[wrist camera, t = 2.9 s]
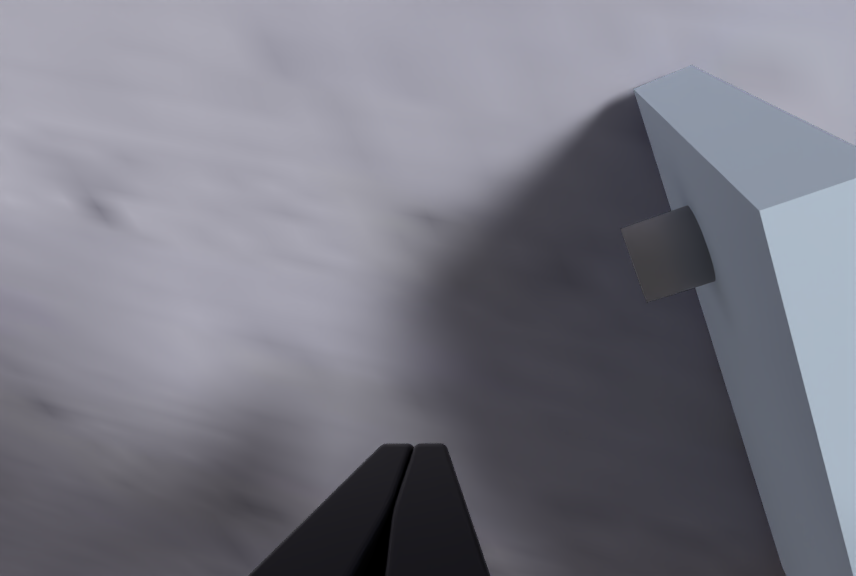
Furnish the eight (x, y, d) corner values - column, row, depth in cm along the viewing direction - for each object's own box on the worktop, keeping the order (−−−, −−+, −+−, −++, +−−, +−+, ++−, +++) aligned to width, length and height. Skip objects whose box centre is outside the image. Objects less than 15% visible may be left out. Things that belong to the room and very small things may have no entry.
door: (577, 111, 11) (646, 269, 5) (691, 65, 11) (923, 179, 5) (747, 599, 16) (893, 999, 10) (834, 583, 15) (1049, 999, 9)
